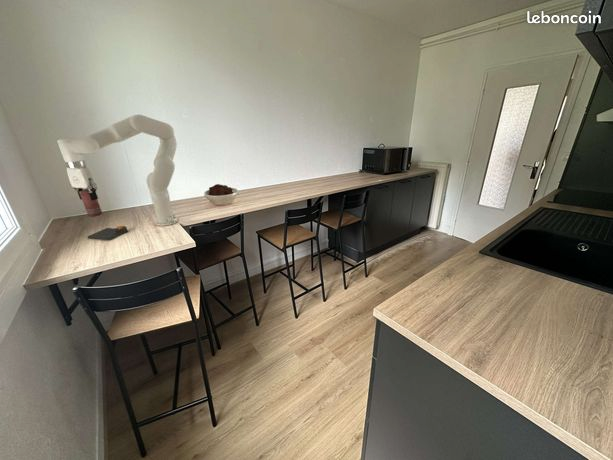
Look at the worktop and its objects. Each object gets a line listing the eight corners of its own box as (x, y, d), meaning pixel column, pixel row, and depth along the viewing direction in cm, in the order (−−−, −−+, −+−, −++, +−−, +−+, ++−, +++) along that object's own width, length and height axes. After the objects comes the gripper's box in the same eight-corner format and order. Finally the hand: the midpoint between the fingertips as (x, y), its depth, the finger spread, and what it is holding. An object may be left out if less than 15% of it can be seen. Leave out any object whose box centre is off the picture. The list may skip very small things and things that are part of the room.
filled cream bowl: (238, 197, 210) (236, 179, 204) (240, 206, 188) (238, 186, 182) (206, 200, 203) (203, 181, 197) (205, 210, 181) (201, 189, 175)
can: (92, 213, 139) (83, 188, 133) (105, 212, 139) (96, 188, 134) (85, 217, 133) (74, 191, 128) (97, 216, 134) (88, 191, 128)
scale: (130, 231, 147) (128, 226, 146) (110, 240, 136) (108, 235, 135) (109, 229, 150) (107, 224, 149) (88, 238, 139) (86, 233, 137)
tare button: (124, 228, 145) (123, 225, 145) (120, 229, 143) (119, 227, 142) (120, 227, 146) (119, 225, 145) (116, 229, 143) (116, 227, 143)
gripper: (54, 165, 124) (68, 200, 131) (83, 166, 121) (96, 202, 128) (70, 163, 130) (82, 196, 138) (97, 164, 127) (109, 198, 135)
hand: (89, 198), depth 133 cm, fingers closed on can, 6 cm apart
